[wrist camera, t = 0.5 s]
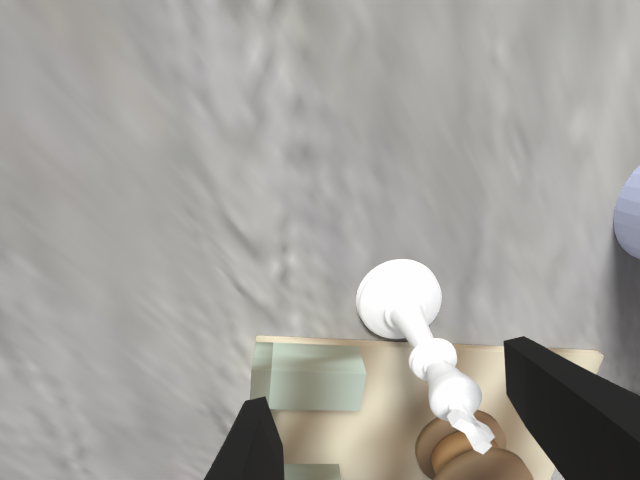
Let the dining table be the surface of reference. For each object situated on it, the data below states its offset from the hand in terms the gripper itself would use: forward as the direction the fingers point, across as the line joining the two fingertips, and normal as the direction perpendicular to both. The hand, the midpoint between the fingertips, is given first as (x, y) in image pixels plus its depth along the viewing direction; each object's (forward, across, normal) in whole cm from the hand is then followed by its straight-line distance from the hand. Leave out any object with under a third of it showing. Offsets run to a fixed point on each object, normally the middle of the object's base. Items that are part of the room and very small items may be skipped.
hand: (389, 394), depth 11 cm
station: (+10, -2, +12) cm, 16 cm away
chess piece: (+10, -3, +3) cm, 11 cm away
